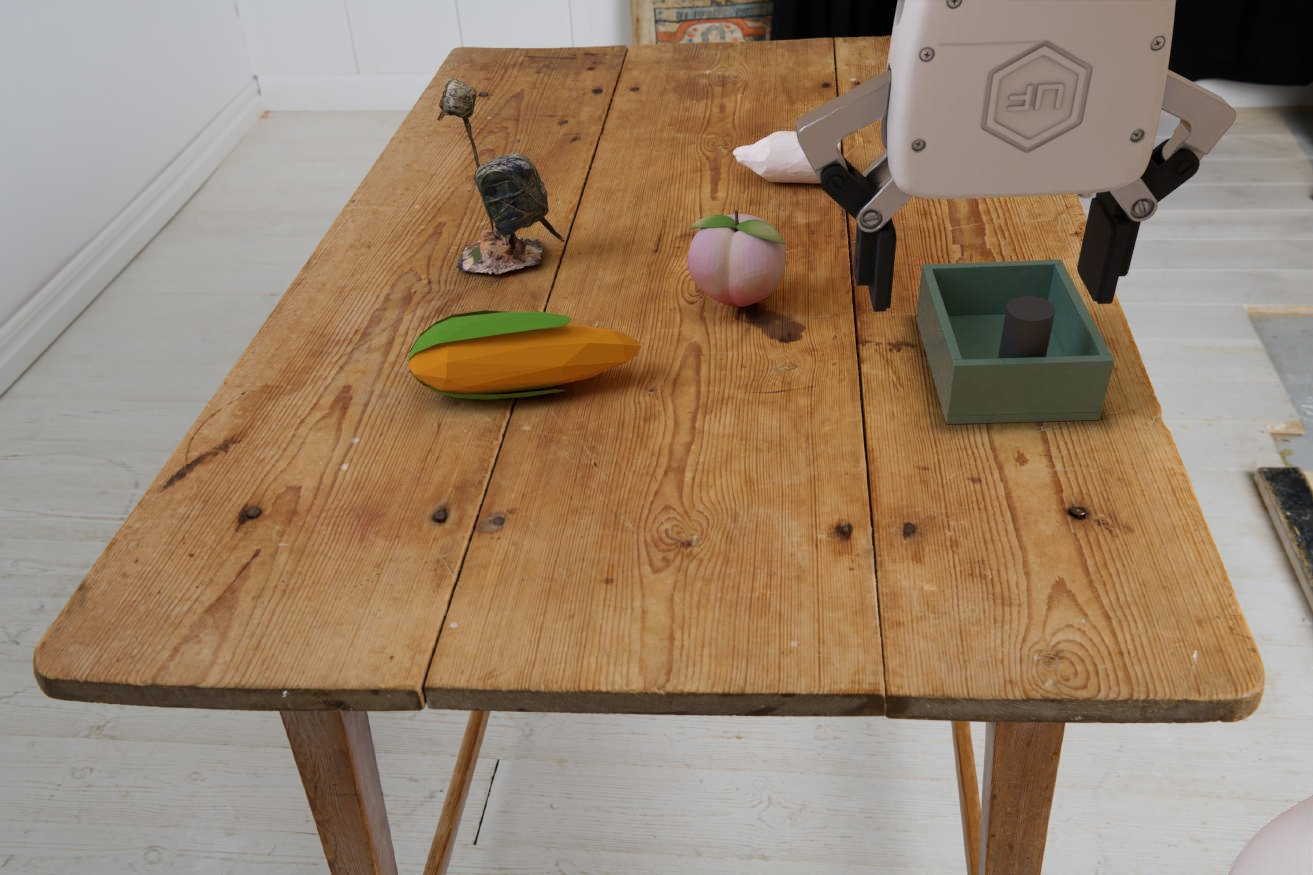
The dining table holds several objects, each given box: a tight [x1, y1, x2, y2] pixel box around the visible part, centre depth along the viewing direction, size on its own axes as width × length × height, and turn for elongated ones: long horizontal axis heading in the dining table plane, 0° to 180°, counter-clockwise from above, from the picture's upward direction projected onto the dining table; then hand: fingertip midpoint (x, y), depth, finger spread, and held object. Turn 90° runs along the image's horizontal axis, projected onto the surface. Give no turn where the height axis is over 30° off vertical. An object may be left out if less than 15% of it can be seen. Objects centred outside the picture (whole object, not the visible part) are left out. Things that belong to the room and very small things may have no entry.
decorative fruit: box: [686, 209, 787, 308], centre depth 99 cm, size 9×8×10 cm
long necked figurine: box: [436, 77, 566, 276], centre depth 105 cm, size 8×11×20 cm
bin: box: [915, 259, 1115, 425], centre depth 90 cm, size 16×12×6 cm
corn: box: [407, 309, 642, 401], centre depth 91 cm, size 7×8×20 cm
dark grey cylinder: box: [998, 296, 1055, 359], centre depth 85 cm, size 4×4×8 cm
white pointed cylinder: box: [732, 130, 842, 184], centre depth 120 cm, size 6×12×6 cm, turn 79°
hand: (984, 292), depth 48 cm, fingers open, 9 cm apart
